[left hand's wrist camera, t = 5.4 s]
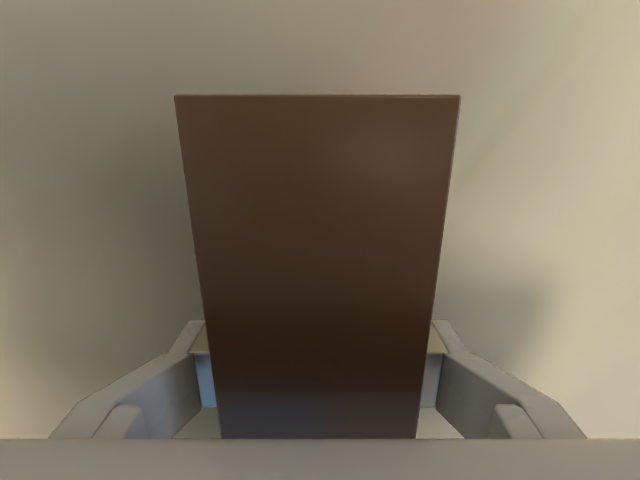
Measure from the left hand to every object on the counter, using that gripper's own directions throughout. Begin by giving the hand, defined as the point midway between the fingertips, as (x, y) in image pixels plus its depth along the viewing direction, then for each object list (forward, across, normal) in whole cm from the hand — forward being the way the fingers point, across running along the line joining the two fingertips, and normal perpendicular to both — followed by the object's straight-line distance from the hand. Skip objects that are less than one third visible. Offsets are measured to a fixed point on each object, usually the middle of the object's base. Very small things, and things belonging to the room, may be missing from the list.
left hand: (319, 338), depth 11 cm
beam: (+3, 0, -32) cm, 32 cm away
